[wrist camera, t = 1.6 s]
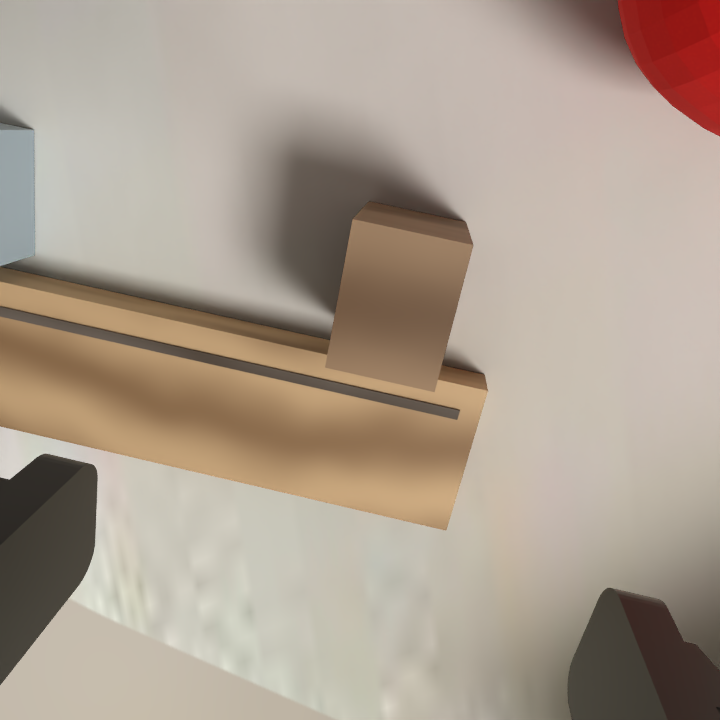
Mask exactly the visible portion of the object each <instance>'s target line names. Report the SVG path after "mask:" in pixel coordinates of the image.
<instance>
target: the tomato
mask: <svg viewBox="0 0 720 720" xmlns="http://www.w3.org/2000/svg"><path fill="white" fill-rule="evenodd" d="M618 9H619V13H620V18H621V23H622V28H623V33H624V38H625V40H626V42H627V44H628V47H629V49H630V51H631V53H632V56H633V58H634V60H635V62H636V64H637V66H638V67H639V68H640V70H641V71H642V72H643V74H644V75H645V76H646V78H647V79H648V80H649V82H650V83H651V84H652V86H653V87H654V88H655V89H656V90H657V91H658V92H659V93H660V94H661V95H662V96H663V97H664V98H665V99H666V100H667V101H668V102H669V103H670V104H671V105H672V106H674V107H675V108H676V109H678V110H679V111H680V112H682V113H683V114H685V115H686V116H687V117H689V118H690V119H692V120H693V121H694V122H696V123H697V124H699V125H700V126H701V127H703V128H704V129H706V130H708V131H710V132H712V133H714V134H716V135H718V136H720V0H618Z"/></svg>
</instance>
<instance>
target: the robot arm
mask: <svg viewBox="0 0 720 720" xmlns="http://www.w3.org/2000/svg"><path fill="white" fill-rule="evenodd" d="M96 504H97V470H96V468H95V466H94V465H92V464H88V463H84V462H80V461H75V460H71V459H67V458H63V457H58V456H54V455H50V454H42V455H40V456H39V457H37V458H36V459H34V460H33V461H32V462H31V463H30V464H28V465H27V466H26V467H25V468H23V469H22V470H21V471H20V472H19V473H17V474H16V475H15V476H14V477H12V478H11V479H10V480H8V479H4V478H0V685H1V683H2V682H3V681H4V680H5V678H6V677H7V676H8V675H9V673H10V672H11V671H12V670H13V668H14V667H15V666H16V664H17V663H18V662H19V661H20V659H21V658H22V657H23V656H24V654H25V653H26V652H27V650H28V649H29V648H30V647H31V645H32V644H33V643H34V642H35V640H36V639H37V638H38V637H39V635H40V634H41V633H42V631H43V630H44V629H45V628H46V626H47V625H48V624H49V622H50V621H51V620H52V619H53V617H54V616H55V615H56V613H57V612H58V611H59V610H60V609H61V607H62V606H63V605H64V603H65V602H66V601H67V600H68V598H69V597H70V596H71V595H72V593H73V592H74V591H75V590H76V588H77V587H78V586H79V584H80V583H81V581H82V580H83V578H84V576H85V574H86V572H87V570H88V568H89V565H90V562H91V559H92V556H93V552H94V547H95V529H96ZM568 703H569V708H570V713H571V717H572V720H720V671H719V670H718V669H717V668H716V667H715V665H714V664H713V663H712V662H711V661H710V660H709V659H708V658H707V657H706V655H705V654H704V653H703V652H702V651H701V650H700V649H699V648H698V647H697V646H696V644H691V643H687V642H684V641H683V639H682V637H681V635H680V633H679V631H678V628H677V626H676V624H675V622H674V620H673V618H672V616H671V614H670V612H669V610H668V608H667V606H666V605H665V604H664V602H663V601H661V600H659V599H655V598H651V597H647V596H643V595H638V594H634V593H630V592H626V591H621V590H617V589H613V588H607V589H606V590H604V591H603V592H602V594H601V595H600V597H599V599H598V602H597V604H596V606H595V609H594V611H593V613H592V616H591V618H590V620H589V623H588V625H587V627H586V630H585V632H584V634H583V636H582V639H581V641H580V643H579V646H578V648H577V650H576V653H575V655H574V657H573V660H572V663H571V666H570V671H569V677H568Z"/></svg>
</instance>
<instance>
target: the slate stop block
mask: <svg viewBox="0 0 720 720" xmlns="http://www.w3.org/2000/svg"><path fill="white" fill-rule="evenodd" d="M34 255H35V214H34V130H32V129H27V128H23V127H18V126H13V125H8V124H4V123H0V266H2V265H5V264H9V263H12V262H15V261H18V260H21V259H24V258H28V257H31V256H34Z"/></svg>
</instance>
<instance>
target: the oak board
mask: <svg viewBox="0 0 720 720" xmlns="http://www.w3.org/2000/svg"><path fill="white" fill-rule="evenodd" d="M329 343H330V340H327V339H322V338H318V337H313V336H309V335H304V334H300V333H295V332H291V331H286V330H282V329H277V328H273V327H268V326H264V325H259V324H255V323H251V322H246V321H242V320H237V319H233V318H228V317H224V316H219V315H215V314H210V313H206V312H201V311H197V310H192V309H188V308H183V307H179V306H174V305H170V304H165V303H161V302H156V301H152V300H147V299H143V298H138V297H134V296H129V295H125V294H120V293H116V292H111V291H107V290H103V289H98V288H94V287H89V286H85V285H80V284H76V283H71V282H67V281H62V280H58V279H53V278H49V277H44V276H40V275H35V274H31V273H26V272H22V271H17V270H13V269H8V268H4V267H0V426H1V427H6V428H10V429H14V430H18V431H23V432H27V433H31V434H36V435H40V436H44V437H48V438H53V439H57V440H61V441H65V442H70V443H74V444H78V445H83V446H87V447H91V448H95V449H100V450H104V451H108V452H112V453H117V454H121V455H125V456H130V457H134V458H138V459H142V460H147V461H151V462H155V463H160V464H164V465H168V466H172V467H177V468H181V469H185V470H189V471H194V472H198V473H202V474H207V475H211V476H215V477H219V478H224V479H228V480H232V481H237V482H241V483H245V484H249V485H254V486H258V487H262V488H266V489H271V490H275V491H279V492H284V493H288V494H292V495H296V496H301V497H305V498H309V499H314V500H318V501H322V502H326V503H331V504H335V505H339V506H343V507H348V508H352V509H356V510H361V511H365V512H369V513H373V514H378V515H382V516H386V517H391V518H395V519H399V520H403V521H408V522H412V523H416V524H420V525H425V526H429V527H433V528H438V529H442V530H447V526H448V523H449V520H450V516H451V513H452V509H453V506H454V503H455V499H456V496H457V493H458V489H459V486H460V483H461V479H462V476H463V473H464V469H465V466H466V463H467V459H468V456H469V452H470V449H471V446H472V442H473V439H474V436H475V432H476V429H477V426H478V422H479V419H480V416H481V412H482V409H483V405H484V402H485V399H486V395H487V392H488V389H487V384H486V379H485V375H484V374H479V373H475V372H470V371H466V370H461V369H457V368H452V367H448V366H443V365H442V366H441V370H440V374H439V377H438V381H437V385H436V389H435V392H431V391H427V390H422V389H418V388H413V387H409V386H405V385H400V384H396V383H391V382H387V381H382V380H378V379H373V378H369V377H365V376H360V375H356V374H351V373H347V372H342V371H338V370H333V369H329V368H325V365H326V359H327V354H328V348H329Z"/></svg>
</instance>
